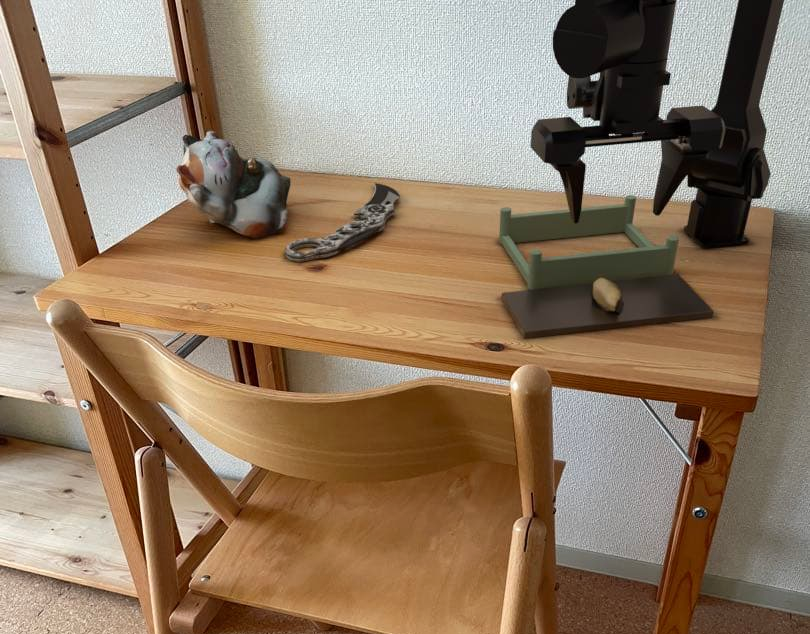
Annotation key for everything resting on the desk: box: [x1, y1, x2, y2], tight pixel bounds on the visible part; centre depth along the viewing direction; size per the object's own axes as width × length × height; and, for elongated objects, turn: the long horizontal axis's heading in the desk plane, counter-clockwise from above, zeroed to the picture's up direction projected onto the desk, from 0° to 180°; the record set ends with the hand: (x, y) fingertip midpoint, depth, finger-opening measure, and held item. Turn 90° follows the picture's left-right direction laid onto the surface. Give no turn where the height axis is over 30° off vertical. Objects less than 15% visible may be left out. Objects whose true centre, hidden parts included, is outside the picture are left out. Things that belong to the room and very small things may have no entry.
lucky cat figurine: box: [176, 130, 292, 240], centre depth 117 cm, size 15×12×14 cm
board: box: [501, 273, 714, 339], centre depth 98 cm, size 22×10×1 cm, turn 99°
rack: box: [498, 194, 680, 290], centre depth 108 cm, size 18×15×4 cm
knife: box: [284, 182, 401, 263], centre depth 119 cm, size 28×2×10 cm
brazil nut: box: [591, 278, 624, 313], centre depth 98 cm, size 6×5×3 cm
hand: (615, 218), depth 92 cm, fingers open, 9 cm apart
